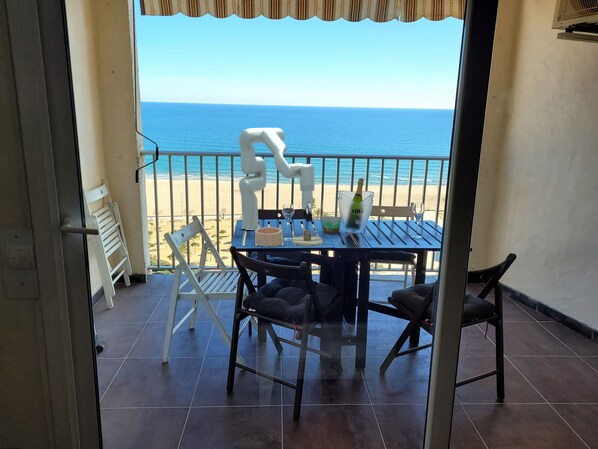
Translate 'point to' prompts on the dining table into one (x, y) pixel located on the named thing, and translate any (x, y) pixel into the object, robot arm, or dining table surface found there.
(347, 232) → the dining table surface
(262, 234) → the bowl
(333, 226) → the food container
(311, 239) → the lid
